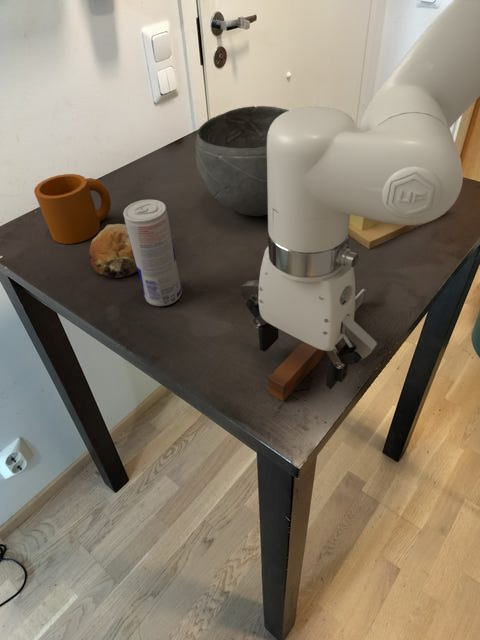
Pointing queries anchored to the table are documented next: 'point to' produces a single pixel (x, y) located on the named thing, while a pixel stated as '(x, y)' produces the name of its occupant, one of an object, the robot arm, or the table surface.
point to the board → (378, 233)
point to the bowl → (237, 158)
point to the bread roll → (113, 252)
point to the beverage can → (153, 251)
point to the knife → (298, 365)
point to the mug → (72, 207)
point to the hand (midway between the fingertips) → (300, 361)
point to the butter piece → (362, 222)
